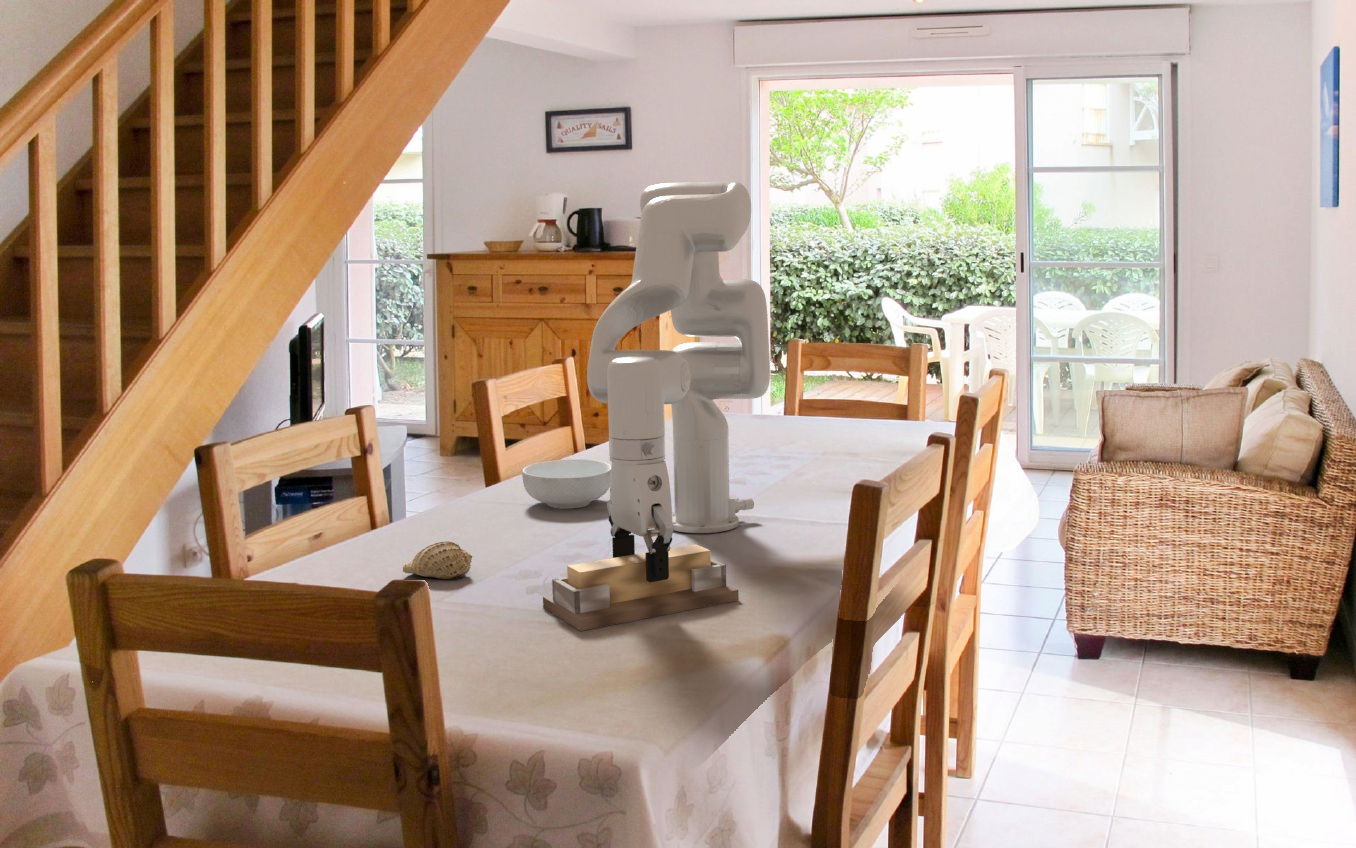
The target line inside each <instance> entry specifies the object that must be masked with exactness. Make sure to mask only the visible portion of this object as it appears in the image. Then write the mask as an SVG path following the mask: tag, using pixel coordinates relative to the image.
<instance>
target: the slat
mask: <svg viewBox="0 0 1356 848" xmlns="http://www.w3.org/2000/svg"><path fill="white" fill-rule="evenodd" d="M645 553H646V552H641V553H635V554H634V555H628V556H622V557H616V558H613V557H611V558H605V559H600V560H598V559H597V560H595V561H594V560H593V561H587V562H581V563H580V562H579V563H575V564H569V565H566V568H567V569H566V570H567V573H566V574H567V577H568V585H570V586H572V587H574V588H575V589H582V588H588V587H594V586H599V585H605V584H607V585H609V592H610V604H612V603H617V602H623V601H628V600H634V599H639V598H644V597H650V596H655V595H661V594H666V593H671V592H677V591H682V590H687V589H692V573H691V569H696V568H702V567H707V566H711V559H712V558H711V550H710V549H708V548H706V547H703V546H701V545H698V544H696V543H695V544H690V545H689V544H688V545H683V546H678V547H672V548H671V547H670V551H668V556H669V578H668V579H667V580H661V581H656V582H648V581H647V580H646V555H645Z"/></svg>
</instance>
